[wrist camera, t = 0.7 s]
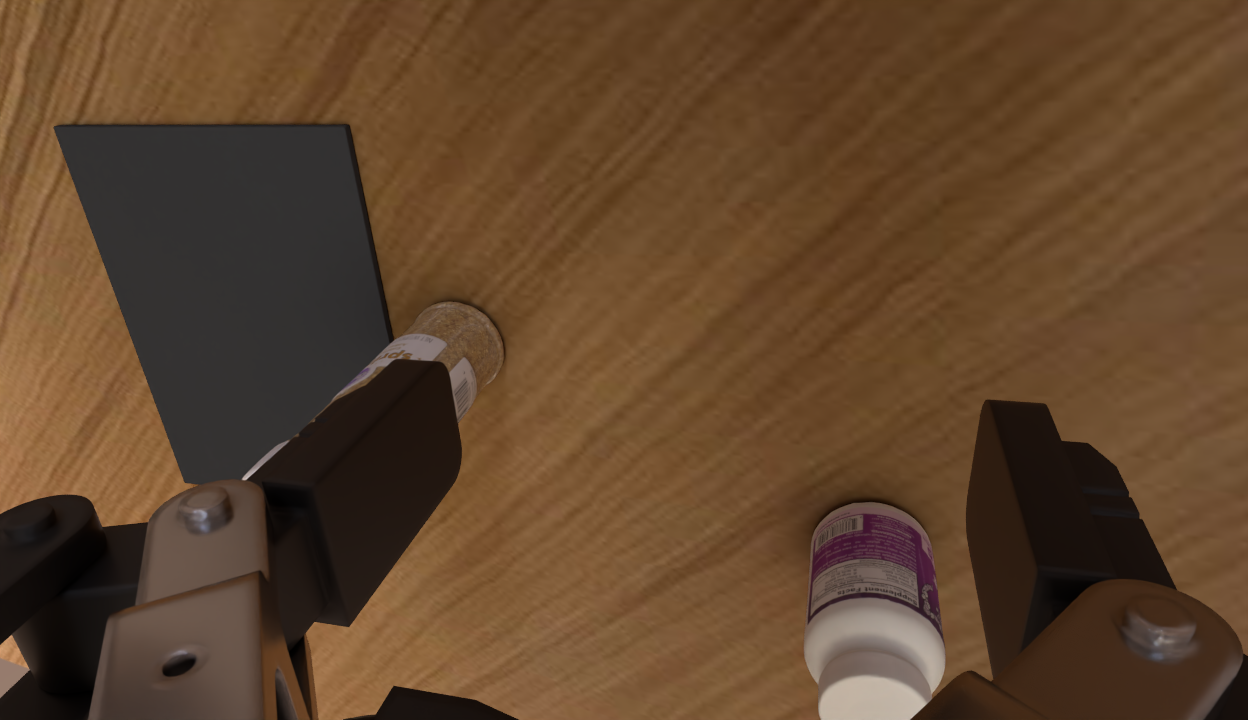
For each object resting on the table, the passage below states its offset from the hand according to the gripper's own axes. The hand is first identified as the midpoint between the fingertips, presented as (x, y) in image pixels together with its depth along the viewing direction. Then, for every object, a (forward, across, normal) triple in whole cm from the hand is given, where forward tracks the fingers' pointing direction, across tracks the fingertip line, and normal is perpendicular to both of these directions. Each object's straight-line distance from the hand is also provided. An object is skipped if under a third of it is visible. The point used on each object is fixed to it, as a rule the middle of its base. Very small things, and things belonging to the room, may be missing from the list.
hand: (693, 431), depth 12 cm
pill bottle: (+21, -4, +18) cm, 29 cm away
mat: (+21, +26, +9) cm, 34 cm away
